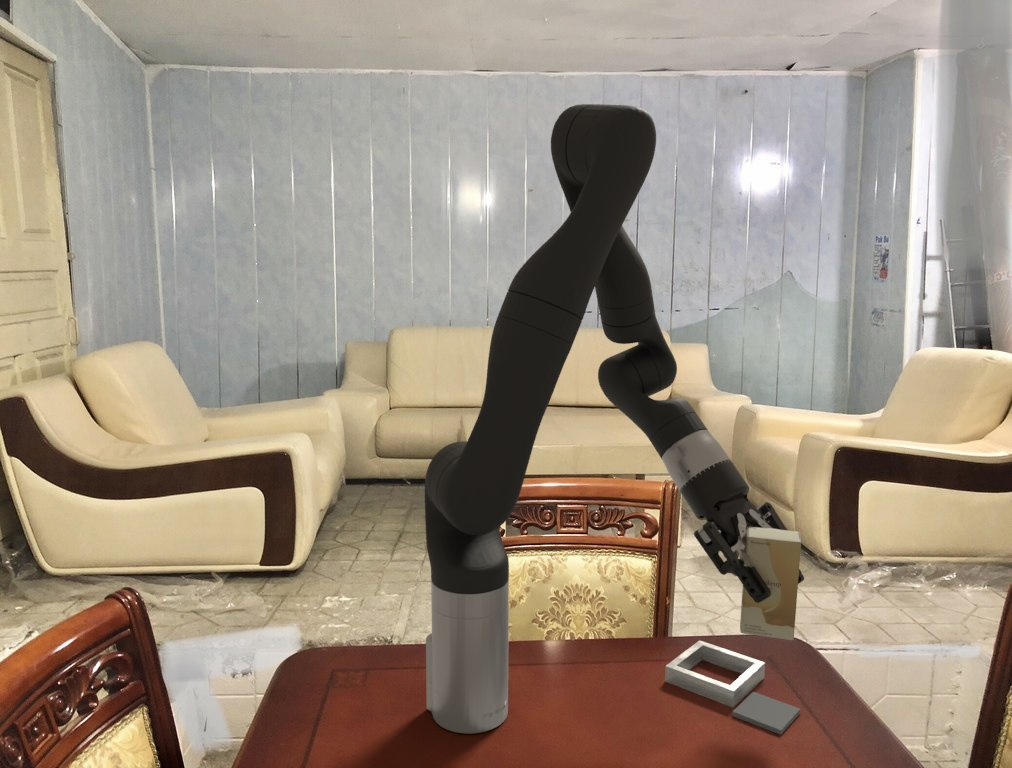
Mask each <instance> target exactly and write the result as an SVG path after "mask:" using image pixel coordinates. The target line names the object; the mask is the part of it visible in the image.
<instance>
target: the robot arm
mask: <svg viewBox="0 0 1012 768" xmlns="http://www.w3.org/2000/svg"><path fill="white" fill-rule="evenodd" d="M550 136H551V137H550V152H551V153H550V154H551V157H552V163H553V166H554V170H555V173H556V176H557V180H558V182H559V184H560V187H561V189H562V192H563V194H564V197H565V200H566V203H567V205H568V209H569V211H570V213H569V215H568V216H567V218H566V219H565V221H564V222H563V223H562V224H561V225H560V227H559V228H558V229H557V230H556V231H555V232H554V233H553V234H552V235H551V236H550V237H549V238H548V239H547V240H546V241H544V243H543V244H542V245H541V246H540V247H539V248H538V249H537V250H536V251H534V253H533V254H532V255H531V256H530V257H529V258H528V259H527V260H526V261H525V262H524V264H523V265H522V266H521V267H520V268H519V269H518V271H517V272H516V273H515V275H514V277H513V278H512V281H511V283H510V284H509V287H508V289H507V292H506V295H505V297H504V299H503V301H502V304H501V307H500V310H499V312H498V315H497V317H496V319H495V323H494V326H493V330H492V334H491V339H490V343H489V344H490V345H489V352H488V359H487V369H486V370H487V371H486V379H485V380H486V381H485V388H484V389H485V390H484V394H483V400H482V403H481V407H480V410H479V413H478V416H477V418H476V421H475V423H474V425H473V428H472V430H471V432H470V435H469V436H468V439H467V441H465V440H464V441H463V440H462V441H460V440H459V441H454V442H452V443H448V444H446V445H445V446H444V447H442V448H441V449H440V450H438V452H436V454H435V455H434V456H433V457H432V459H431V460H430V463H429V464H428V466H427V470H426V473H425V480H424V514H425V515H424V516H425V517H424V521H425V522H424V523H425V539H426V541H425V542H426V550H427V555H428V559H429V565H430V582H431V583H430V584H431V589H430V590H431V596H430V597H431V599H430V600H431V601H430V602H431V633H430V634H427V636H426V638H425V664H426V665H425V672H426V673H425V676H426V677H425V678H426V679H425V680H426V681H425V682H426V684H425V685H426V686H425V687H426V691H425V692H426V710H428V711H429V712H430V713H431V714H432V719H433V720H434V722H436V724H438V725H439V726H440V727H441V728H443V729H444V730H447V731H450V732H453V733H459V734H479V733H480V734H481V733H485V732H489V731H491V730H493V729H495V728H498V727H500V725H502V723H504V722H505V720H506V719H507V718H508V714H509V712H508V711H509V636H510V634H509V627H510V625H509V623H510V619H509V614H510V613H509V610H510V607H509V606H510V602H509V599H510V597H509V596H510V595H509V594H510V591H509V590H510V584H509V583H510V581H509V579H510V562H509V556H508V553H507V550H506V548H505V545H504V542H503V538H502V535H501V529H500V527H502V525H503V524H504V523H505V522H506V521H507V520H508V519H509V517H511V515H512V513H513V512H514V509H516V505H517V503H518V501H519V498H520V494H521V491H522V487H523V484H524V481H525V477H526V473H527V471H528V470H527V469H528V466H529V462H530V459H531V456H532V455H531V454H532V452H533V448H534V444H535V441H536V439H537V435H538V432H539V429H540V426H541V423H542V420H543V417H544V415H545V413H546V411H547V408H548V406H549V403H550V401H551V399H552V397H553V393H554V392H555V389H556V385H557V383H558V381H559V378H560V375H561V373H562V371H563V368H564V365H565V363H566V361H567V358H568V357H569V354H570V352H571V351H572V350H571V349H572V347H573V345H574V342H575V340H576V337H577V334H578V333H579V329H580V327H581V324H582V320H583V319H584V316H585V313H586V311H587V308H588V305H589V302H590V300H591V297H592V294H593V292H594V289H595V294H596V300H597V306H598V309H599V315H600V321H601V325H602V327H601V328H602V329H603V333H604V335H605V337H606V338H607V339H608V340H609V341H611V342H612V343H614V344H618V345H619V344H620V345H625V344H626V345H628V344H629V345H630V344H635V343H638V344H636V345H634V346H632V347H630V348H627V349H626V350H623V351H620V352H618V353H617V354H616V353H615V354H614V355H612V356H611V355H610V356H609V357H607V358H605V360H603V361H602V362H601V363H600V365H599V368H598V372H597V380H598V384H599V387H600V389H601V391H602V392H603V394H604V396H605V397H606V398H607V400H608V401H609V402H610V403H611V404H613V406H614V407H615V408H617V409H618V410H619V411H620V412H621V413H623V414H624V415H625V416H626V417H627V418H628V419H629V420H630V421H631V422H633V423H634V424H635V426H636V427H638V428H639V429H640V430H641V431H642V432H643V433H644V434H645V436H646V437H647V438H648V440H649V442H650V443H651V444H652V446H653V448H654V449H655V451H656V452H657V453H658V456H659V457H660V459H661V460H662V462H663V464H664V467H665V469H666V471H667V473H668V474H669V476H670V478H671V480H672V481H673V482H674V484H675V487H677V489H678V491H679V492H680V494H681V495H682V497H683V499H684V500H685V502H686V503H687V504H688V507H689V508H690V509H691V511H692V512H693V514H694V515H695V517H696V519H698V520H700V521H706V522H705V523H704V524H702V525H701V526H700V527H699V528H698V529H697V530H695V531H694V533H693V535H694V538H695V539H696V540H697V542H698V543H699V544H700V546H701V547H702V549H703V550H704V552H705V554H707V556H708V557H709V559H710V561H711V563H712V564H713V565H714V566H715V568H716V569H717V570H718V572H719V573H720V574H721V575H723V576H726V575H727V574H731V575H733V576H734V577H737V578H738V579H739V581H740V583H741V584H742V587H743V586H744V587H745V589H746V590H747V591H748V594H749V595H750V596H751V597H752V598H753V600H754V601H755V602H756V603H760V602H762V601H763V600H765V599H767V598H768V597H770V596H771V591H770V590H769V588H768V587H767V585H766V584H765V582H764V580H763V579H762V577H761V576H760V574H759V573H758V571H757V570H756V568H755V567H754V566H753V567H750V566H751V565H752V564H751V559H750V556H749V555H748V554H747V553H746V545H747V527H749V526H750V527H758V528H773V529H779V530H787V531H789V530H788V529H787V527H786V526H785V524H784V522H783V521H782V519H781V517H780V516H779V514H778V513H777V512H776V510H775V508H774V507H773V505H772V503H770V502H769V501H766V502H764V503H763V504H762V505H760V506H755V505H754V504H753V503H752V502H751V501H750V500H749V499H748V494H749V493H750V492H749V491H750V486H749V485H748V483H747V482H746V480H745V479H744V477H743V476H742V475H741V473H740V471H739V469H737V467H736V466H735V463H734V462H733V461H732V460H731V458H730V456H729V455H728V453H727V452H726V451H725V449H724V448H723V446H722V445H721V444H720V443H719V441H718V440H717V439H716V438H715V437H714V436H713V435H712V434H711V432H710V431H709V430H708V428H707V427H706V425H705V424H704V422H703V421H702V419H701V418H700V417H699V415H698V413H697V412H696V410H695V409H694V408H693V406H692V405H691V404H690V402H689V401H687V400H686V399H685V398H682V397H681V398H680V397H676V398H673V397H672V398H668V399H662V400H657V399H653V398H651V396H653V395H655V394H657V393H659V392H662V391H664V390H666V389H668V388H669V387H671V386H672V384H673V383H674V382H675V379H676V377H677V374H678V373H677V372H678V365H677V361H676V359H675V356H674V354H673V352H672V350H671V347H669V345H668V343H667V341H666V338H665V336H664V333H663V332H662V329H661V327H660V325H659V322H658V319H657V315H656V310H655V309H656V308H655V302H654V295H653V290H652V283H651V278H650V274H649V272H648V269H647V266H646V264H645V261H644V260H643V258H642V256H641V254H640V252H639V251H638V249H637V248H636V245H635V244H634V242H633V241H632V240H631V237H630V236H629V234H628V233H627V231H626V229H625V227H624V226H623V224H624V222H625V220H626V219H627V216H628V214H629V213H630V210H631V208H632V207H633V205H634V203H635V201H636V199H637V198H638V196H639V193H640V191H641V189H642V188H643V186H644V183H645V181H646V179H647V177H648V174H649V172H650V169H651V166H652V164H653V160H654V157H655V154H656V153H655V152H656V147H657V130H656V124H655V122H654V120H653V117H652V116H651V115H650V113H649V111H646V110H645V109H643V108H641V107H638V106H633V105H630V104H629V105H627V104H626V105H625V104H605V103H603V104H601V103H599V104H596V103H595V104H593V103H592V104H590V103H589V104H588V103H587V104H585V103H582V104H576V105H573V106H569V107H568V108H566V109H565V110H563V111H562V112H561V113H560V115H559V116H558V118H557V119H556V121H555V123H554V124H553V128H552V131H551V135H550ZM720 552H721V553H722V555H723V558H725V559H726V560H725V561H724V559H722V557H721V556H720V554H719V553H720ZM804 581H805V577H804V575H803V573H802V571H801V570H800V568H799V577H798V585H799V584H801V583H802V582H804Z"/></svg>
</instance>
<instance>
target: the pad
mask: <svg viewBox="0 0 1012 768" xmlns="http://www.w3.org/2000/svg"><path fill="white" fill-rule="evenodd" d="M800 715H801V708H799V707H797V706H794V705H791V704H788V703H786V702H783V701H780V700H777V699H775V698H771V697H770V696H767V695H763V694H762V693H761V694H760V693H758V692H755V691H753V692H751V693H750V694H749V695H748V696H747V697H746V698H745V699H744V700H743V701H742V702H741V703H740V704H739V705H738V706H737V707H736V708H734V709H733V710H732V717H734V718H737V719H740V720H741V721H745V722H747V723H750V724H752V725H754V726H757V727H759V728H762V729H765V730H767V731H770V732H772V733H775V734H777V735H780V736H781V735H782V734H783V733H784V732H785V731H786V730H787V729H788V728H789V726H790V725H791V724H792V723H793V722H794V721H795V720H796V718H798V716H800Z"/></svg>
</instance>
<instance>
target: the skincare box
mask: <svg viewBox="0 0 1012 768" xmlns="http://www.w3.org/2000/svg"><path fill="white" fill-rule="evenodd" d="M787 530H788V529H787ZM787 530H779V529H773V528H758V527H750V526H749V527H747V545H746V553H747V554H748V555H749V556H750V559H751V564H752V565H751V566H750V567H753V566H754V567H755V568H756V570H757V571H758V573H759V574H760V576H761V577H762V579H763V580H764V582H765V584H766V585H767V587H768V588H769V590H770V591H771V596H770V597H768V598H767V599H765V600H763V601H762V602H760V603H756V602H755V601H754V600H753V598H752V597H751V596H750V595H749V594H748V591H747V590H746V589H745V587H744V586H743V585H742V589H741V590H742V593H741V605H740V607H741V608H740V620H739V631H740V633H741V634H743V635H744V634H745V635H753V636H759V637H766V638H772V639H779V640H780V639H781V640H787V641H794V640H795V629H796V628H795V627H796V625H795V624H796V615H797V604H798V603H797V599H798V588H799V587H798V586H799V584H798V577H799V569H800V561H801V550H802V538H801V537H802V535H801V532H800V531H797V530H796V531H795V530H794V531H793V530H788V531H787Z"/></svg>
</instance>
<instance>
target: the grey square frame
mask: <svg viewBox="0 0 1012 768" xmlns="http://www.w3.org/2000/svg"><path fill="white" fill-rule="evenodd" d="M702 661H703V662H707V663H709V664H712V665H715V666H718V667H721V668H723V669H726V670H729V671H732V672H735V673H737V674H741V675H739V676H738V678H736V680H734V681H733V682H732V683H731V684H728V683H724V682H723V681H719V680H717V679H713V678H711V677H709V676H706V675H703V674H700V673H697V672H695V671H692V669H693V668H694V667H695V666H696V665H698V664H699V663H700V662H702ZM765 670H766V662H764V661H762V660H759V659H756V658H753V657H751V656H747V655H744V654H740V653H739V652H735V651H733V650H729V649H727V648H724V647H720V646H717V645H715V644H711V643H708V642H706V641H703V640H698V641H697V642H695V643H694V644H693V645H691V646H690V647H688V649H686V650H684V652H682V653H681V654H679V655H678V656H677V657H676V658H674V659H672V660H671V661H670V662H669V663H667V664H666V665H665V672H664V674H665V675H664V676H665V677H664V682H665V683H668V684H671V685H673V686H675V687H678V688H680V689H683V690H686V691H689V692H691V693H693V694H696V695H698V696H701V697H705V698H707V699H709V700H711V701H714V702H717V703H719V704H722V705H724V706H728V707H730V708H732V709H733V708H735V706H737V704H739V702H741V701H742V700H743V699H744V698H745V697H746V696H747V695H748V694H749V693H750V692H752V691H753V689H754V688H755V687H756V686H758V685H759V684H760V683H761V682H762V680H764V679H765V673H766V671H765Z"/></svg>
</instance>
